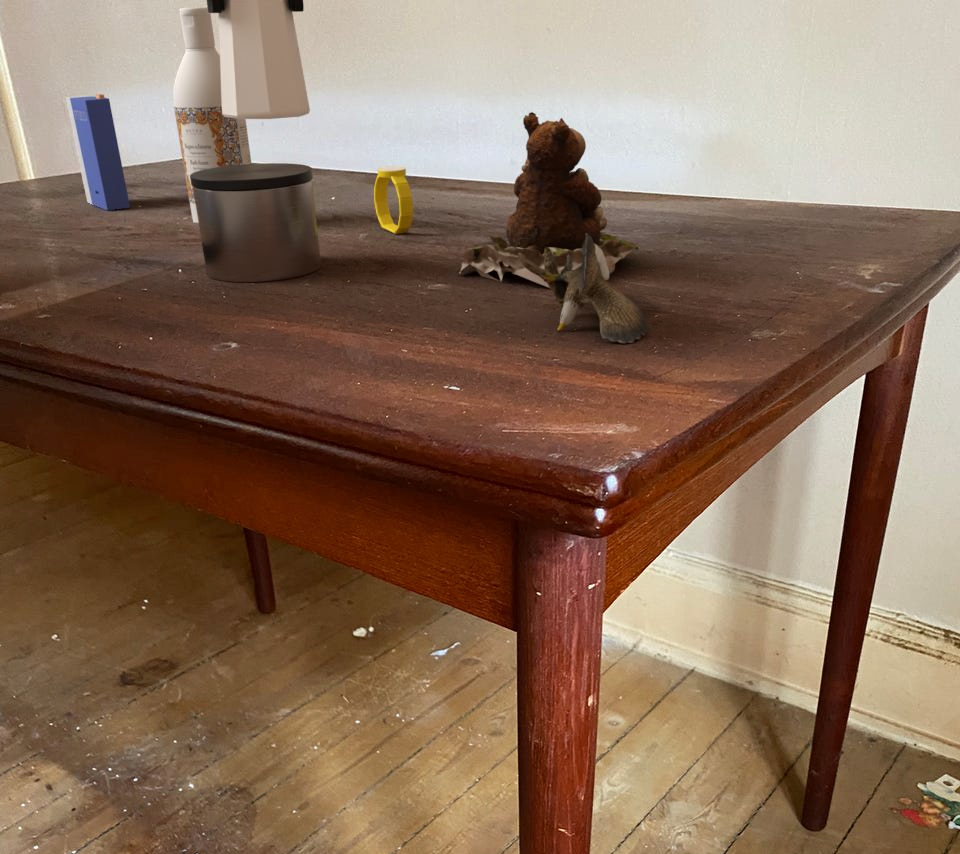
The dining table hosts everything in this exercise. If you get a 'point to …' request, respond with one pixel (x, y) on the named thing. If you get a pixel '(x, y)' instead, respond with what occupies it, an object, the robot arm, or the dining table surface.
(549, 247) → the bear figurine
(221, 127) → the bath foam
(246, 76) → the pepper shaker
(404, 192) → the watch
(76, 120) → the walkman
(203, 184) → the canister
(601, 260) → the eagle figurine
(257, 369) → the dining table surface
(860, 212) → the dining table surface
